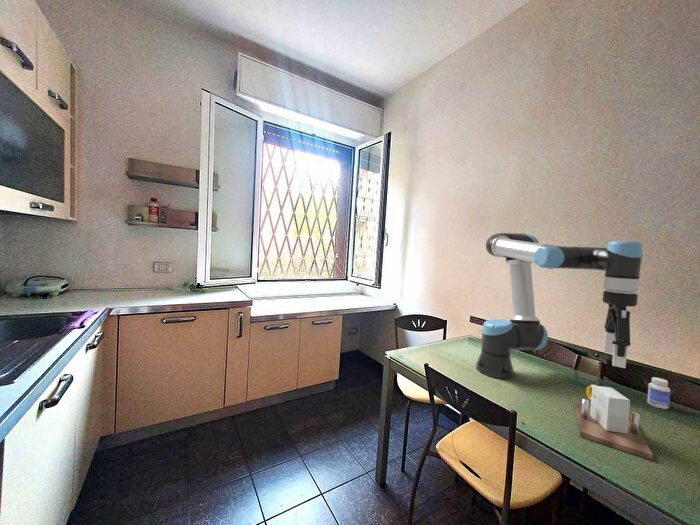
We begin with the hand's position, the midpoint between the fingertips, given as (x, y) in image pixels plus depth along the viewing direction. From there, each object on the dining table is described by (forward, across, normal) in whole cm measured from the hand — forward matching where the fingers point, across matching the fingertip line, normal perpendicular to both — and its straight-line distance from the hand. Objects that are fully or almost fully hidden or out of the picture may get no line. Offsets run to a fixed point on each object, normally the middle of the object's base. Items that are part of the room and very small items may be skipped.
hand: (613, 359), depth 85 cm
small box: (+21, 0, 0) cm, 21 cm away
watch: (+23, +19, +1) cm, 30 cm away
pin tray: (+23, 0, 0) cm, 23 cm away
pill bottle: (+23, +31, -18) cm, 42 cm away
